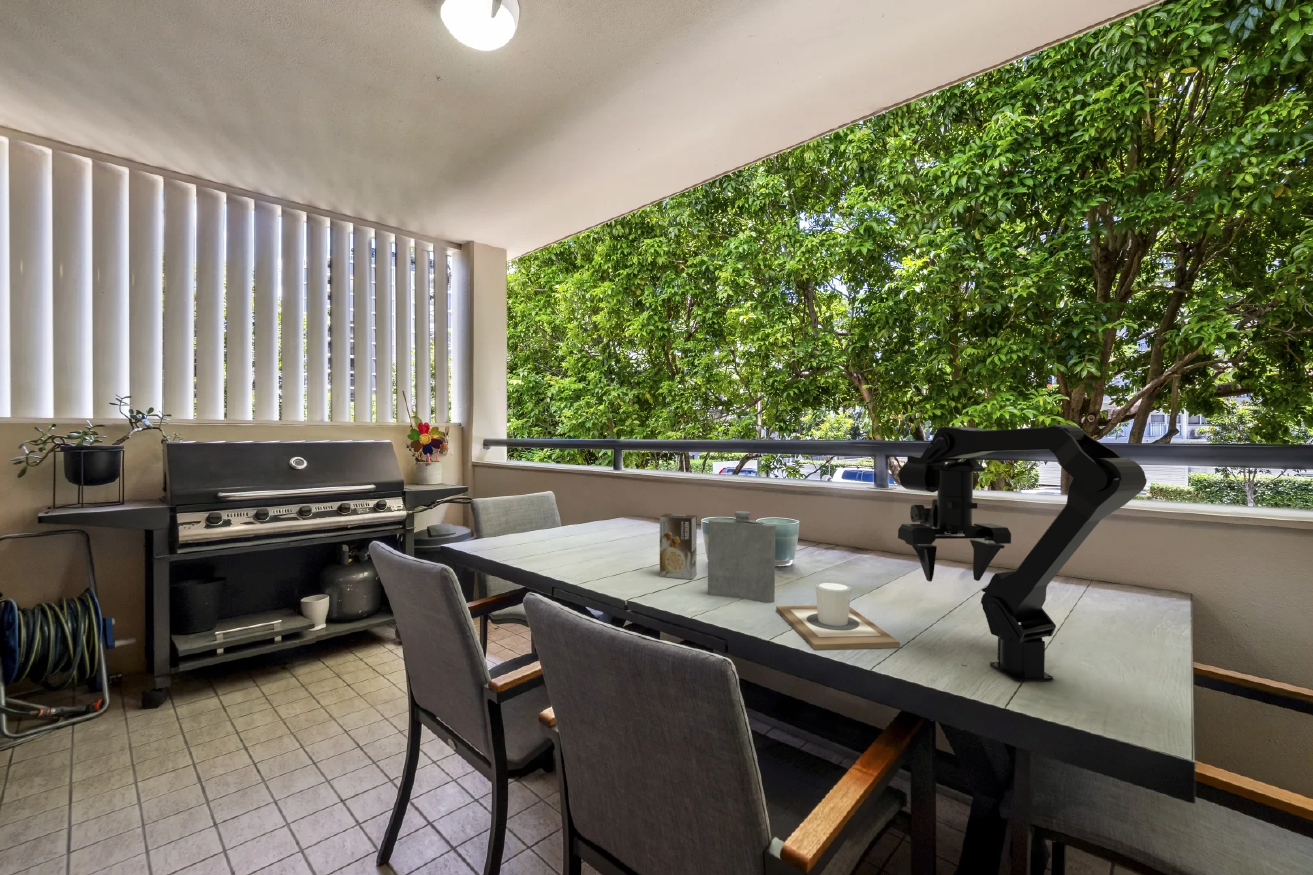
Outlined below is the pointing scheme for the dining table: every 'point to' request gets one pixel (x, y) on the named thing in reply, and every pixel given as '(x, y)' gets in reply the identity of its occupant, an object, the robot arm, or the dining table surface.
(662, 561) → the coffee box
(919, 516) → the robot arm
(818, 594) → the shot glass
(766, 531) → the hip flask
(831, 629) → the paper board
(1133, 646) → the dining table surface
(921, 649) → the dining table surface
